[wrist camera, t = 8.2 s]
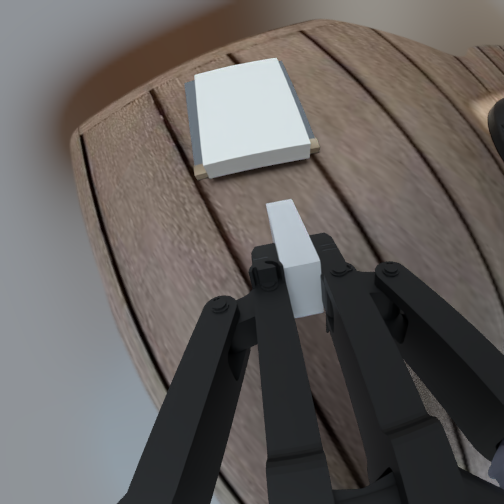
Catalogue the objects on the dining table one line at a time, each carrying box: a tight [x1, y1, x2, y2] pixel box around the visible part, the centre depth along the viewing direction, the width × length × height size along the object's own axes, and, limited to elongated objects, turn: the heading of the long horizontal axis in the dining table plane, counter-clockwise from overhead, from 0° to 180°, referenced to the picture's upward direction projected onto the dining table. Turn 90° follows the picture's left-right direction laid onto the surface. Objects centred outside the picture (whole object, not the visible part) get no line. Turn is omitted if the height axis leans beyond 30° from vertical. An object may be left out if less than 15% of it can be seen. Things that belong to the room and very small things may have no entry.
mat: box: [185, 61, 315, 165], centre depth 31 cm, size 15×13×1 cm
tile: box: [194, 58, 311, 179], centre depth 28 cm, size 3×10×14 cm
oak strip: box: [194, 138, 320, 180], centre depth 29 cm, size 1×13×1 cm, turn 102°
